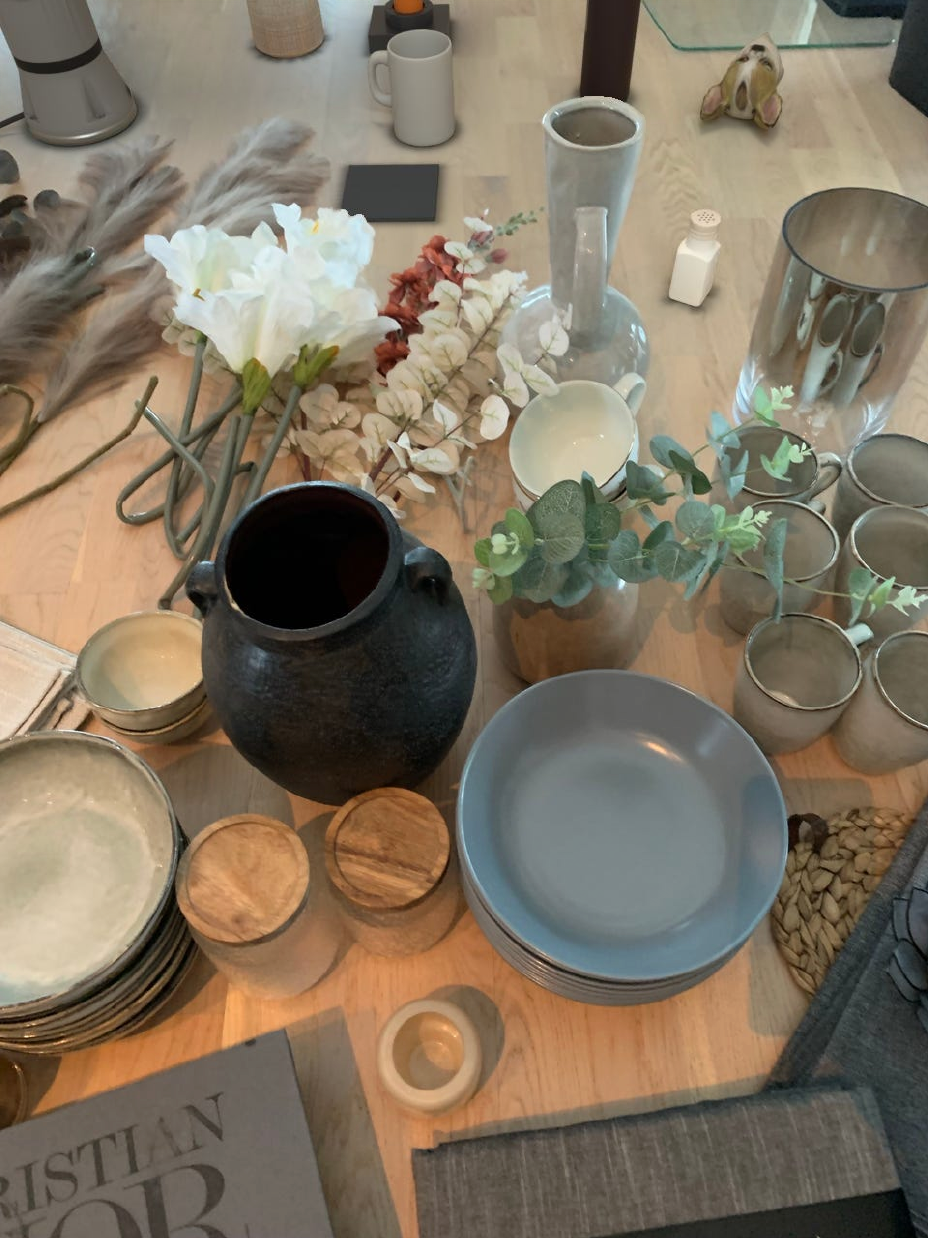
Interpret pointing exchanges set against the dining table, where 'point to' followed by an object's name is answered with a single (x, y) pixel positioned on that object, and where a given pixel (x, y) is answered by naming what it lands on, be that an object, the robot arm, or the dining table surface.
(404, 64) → the mug
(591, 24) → the wine bottle
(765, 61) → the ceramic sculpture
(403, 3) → the kettle button
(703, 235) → the salt shaker
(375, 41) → the base
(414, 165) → the coaster
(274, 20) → the planter
